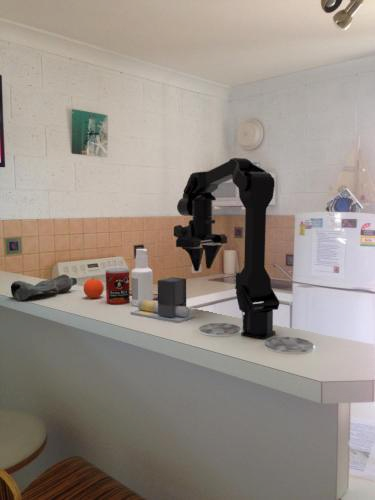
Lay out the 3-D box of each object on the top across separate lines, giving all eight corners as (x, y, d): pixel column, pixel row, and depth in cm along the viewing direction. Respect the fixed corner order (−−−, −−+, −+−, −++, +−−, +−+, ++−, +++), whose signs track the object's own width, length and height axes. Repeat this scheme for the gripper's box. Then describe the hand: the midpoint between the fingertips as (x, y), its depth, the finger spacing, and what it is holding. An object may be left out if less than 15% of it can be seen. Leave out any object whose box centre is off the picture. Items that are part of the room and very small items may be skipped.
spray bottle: (141, 301, 155) (140, 247, 153) (157, 303, 151) (156, 248, 149) (127, 305, 149) (126, 249, 147) (143, 307, 145) (142, 250, 143)
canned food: (107, 305, 149) (106, 271, 148) (105, 300, 156) (104, 268, 155) (131, 304, 151) (130, 270, 150) (127, 299, 158) (127, 267, 157)
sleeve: (186, 312, 134) (186, 278, 133) (171, 317, 128) (171, 282, 127) (172, 310, 137) (172, 277, 136) (158, 314, 131) (157, 280, 130)
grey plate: (196, 317, 133) (196, 304, 132) (179, 322, 126) (179, 309, 126) (148, 309, 143) (148, 297, 143) (130, 314, 137) (130, 302, 136)
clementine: (102, 294, 166) (101, 275, 166) (110, 298, 161) (109, 277, 160) (80, 297, 162) (80, 277, 161) (88, 300, 156) (87, 280, 156)
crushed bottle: (23, 303, 153) (86, 291, 171) (20, 282, 153) (85, 272, 171) (5, 301, 162) (67, 289, 180) (3, 281, 162) (65, 271, 180)
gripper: (197, 215, 147) (198, 264, 148) (160, 217, 132) (161, 271, 133) (228, 215, 140) (228, 267, 142) (192, 217, 125) (192, 274, 127)
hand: (202, 269), depth 136 cm, fingers open, 6 cm apart
